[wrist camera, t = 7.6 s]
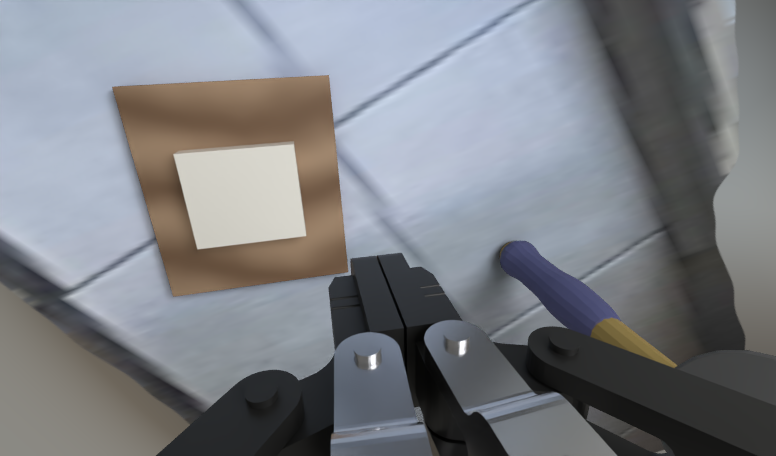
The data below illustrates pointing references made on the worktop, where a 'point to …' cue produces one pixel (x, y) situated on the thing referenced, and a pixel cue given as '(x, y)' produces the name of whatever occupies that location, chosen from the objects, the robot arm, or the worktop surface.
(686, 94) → the worktop surface
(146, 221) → the worktop surface
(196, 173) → the block
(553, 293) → the rubber mallet
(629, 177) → the worktop surface
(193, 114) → the board
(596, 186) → the worktop surface
